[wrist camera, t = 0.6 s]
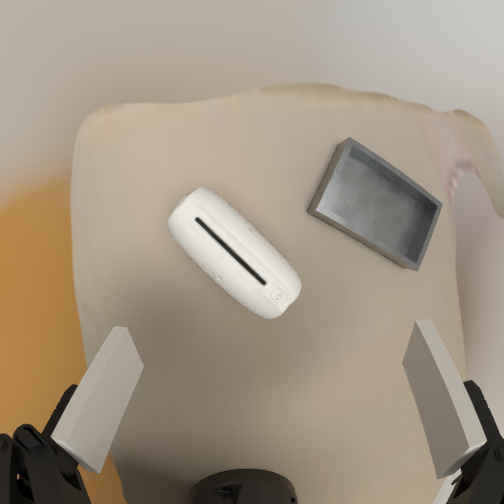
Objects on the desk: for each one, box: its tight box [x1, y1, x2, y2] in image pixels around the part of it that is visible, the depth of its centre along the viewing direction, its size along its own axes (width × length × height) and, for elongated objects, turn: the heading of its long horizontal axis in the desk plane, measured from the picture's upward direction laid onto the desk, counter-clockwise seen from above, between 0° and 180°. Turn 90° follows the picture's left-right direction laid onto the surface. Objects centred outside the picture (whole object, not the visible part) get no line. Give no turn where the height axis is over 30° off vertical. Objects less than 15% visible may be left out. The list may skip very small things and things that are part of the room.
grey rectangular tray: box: [307, 137, 443, 271], centre depth 29 cm, size 8×13×3 cm, turn 63°
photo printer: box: [166, 186, 302, 319], centre depth 23 cm, size 10×4×12 cm, turn 46°
